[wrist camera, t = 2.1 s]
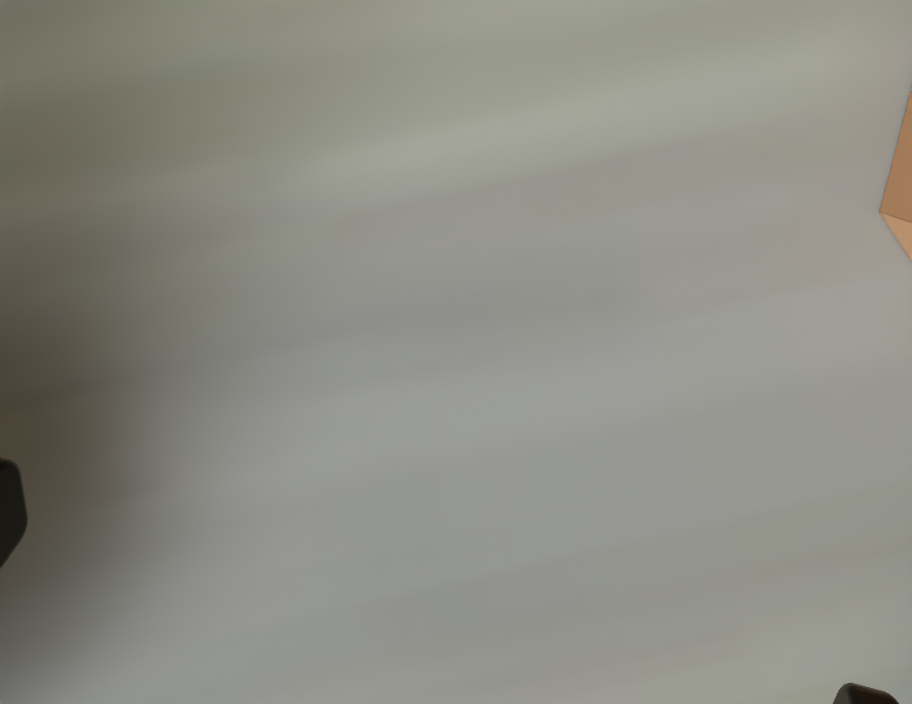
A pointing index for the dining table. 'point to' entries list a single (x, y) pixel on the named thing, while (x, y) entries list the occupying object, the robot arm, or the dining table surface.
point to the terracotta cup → (901, 186)
